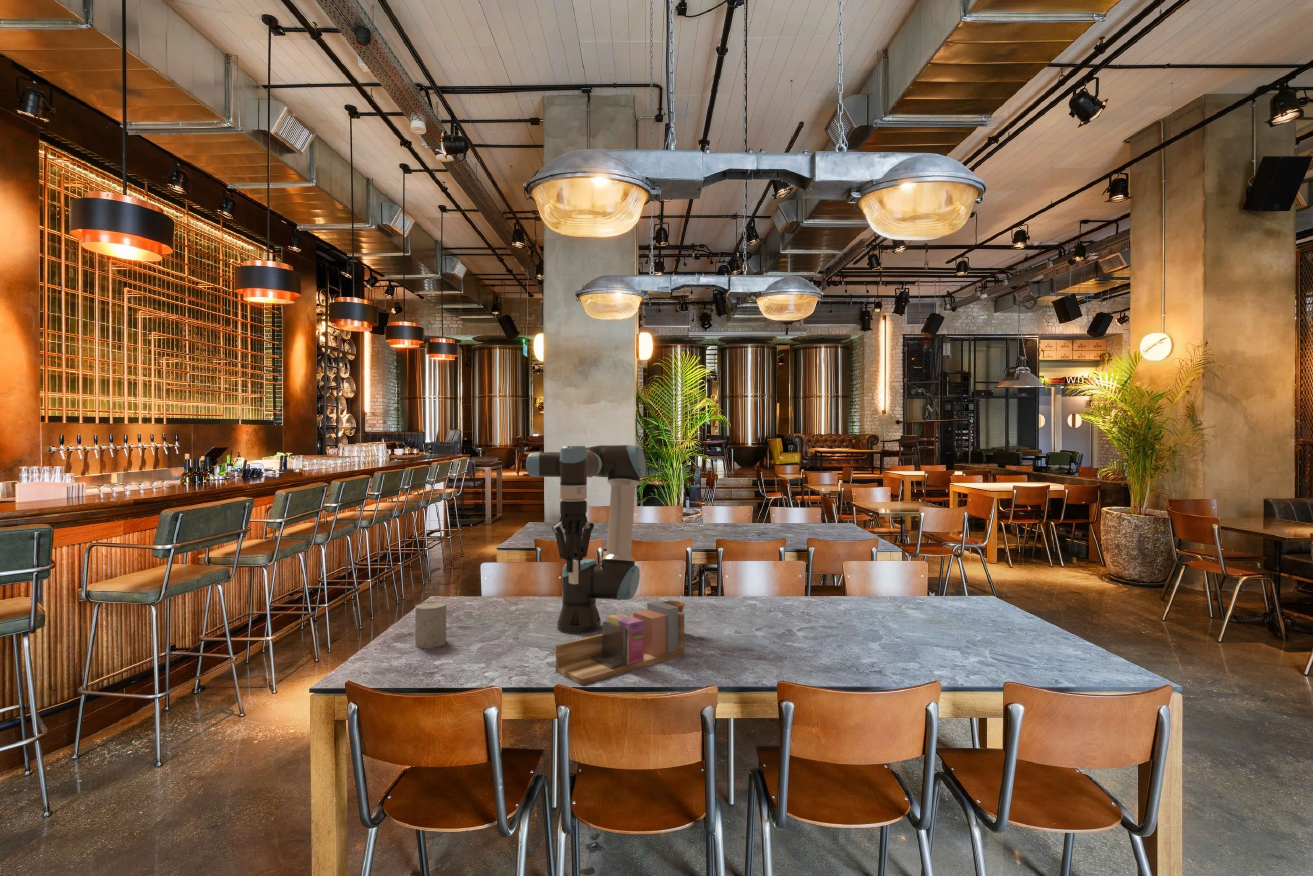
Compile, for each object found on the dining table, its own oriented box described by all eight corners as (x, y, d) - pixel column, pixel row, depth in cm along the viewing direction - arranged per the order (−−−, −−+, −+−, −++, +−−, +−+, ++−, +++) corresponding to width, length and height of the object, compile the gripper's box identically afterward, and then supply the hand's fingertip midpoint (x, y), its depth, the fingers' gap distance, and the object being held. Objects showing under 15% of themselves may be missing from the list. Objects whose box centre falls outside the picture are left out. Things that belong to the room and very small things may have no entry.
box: (644, 661, 179) (644, 620, 179) (628, 665, 175) (628, 623, 175) (622, 652, 187) (622, 612, 187) (607, 656, 183) (607, 616, 183)
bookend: (591, 659, 180) (591, 624, 180) (606, 655, 184) (606, 621, 184) (611, 668, 173) (611, 632, 173) (626, 664, 176) (626, 629, 176)
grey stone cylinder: (452, 641, 203) (453, 603, 203) (430, 649, 194) (431, 610, 194) (430, 637, 207) (431, 600, 207) (408, 645, 198) (408, 606, 198)
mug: (661, 630, 215) (661, 600, 215) (686, 631, 213) (686, 601, 213) (654, 640, 203) (654, 609, 203) (680, 642, 201) (680, 610, 201)
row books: (633, 648, 190) (633, 605, 190) (657, 642, 196) (657, 600, 196) (654, 657, 182) (654, 612, 183) (678, 650, 189) (678, 607, 189)
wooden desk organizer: (555, 671, 175) (555, 626, 175) (656, 644, 199) (656, 605, 199) (581, 685, 165) (581, 637, 165) (684, 655, 189) (684, 613, 189)
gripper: (560, 502, 170) (560, 589, 169) (600, 499, 178) (600, 582, 178) (546, 500, 176) (546, 584, 175) (585, 497, 184) (585, 578, 184)
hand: (573, 583), depth 177 cm, fingers closed
